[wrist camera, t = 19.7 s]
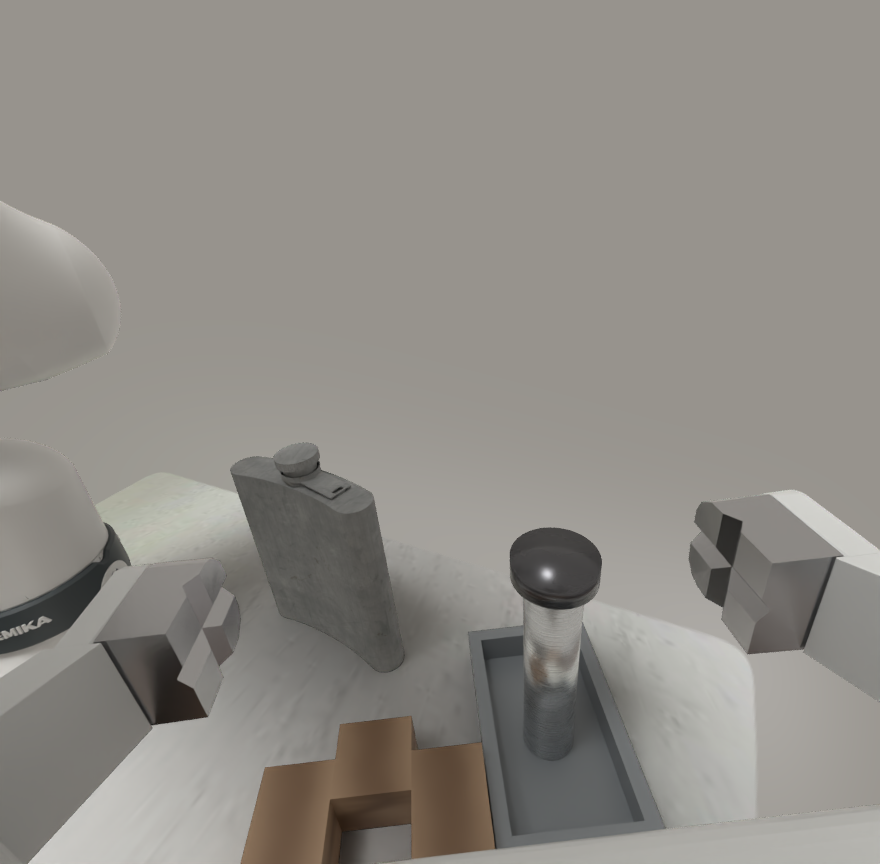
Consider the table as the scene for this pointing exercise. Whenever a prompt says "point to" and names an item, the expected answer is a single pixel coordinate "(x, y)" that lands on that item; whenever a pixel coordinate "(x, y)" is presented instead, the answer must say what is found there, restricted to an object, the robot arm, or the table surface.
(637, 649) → the table surface
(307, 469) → the hip flask
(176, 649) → the robot arm
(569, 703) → the steel pin
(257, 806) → the block
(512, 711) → the tray
